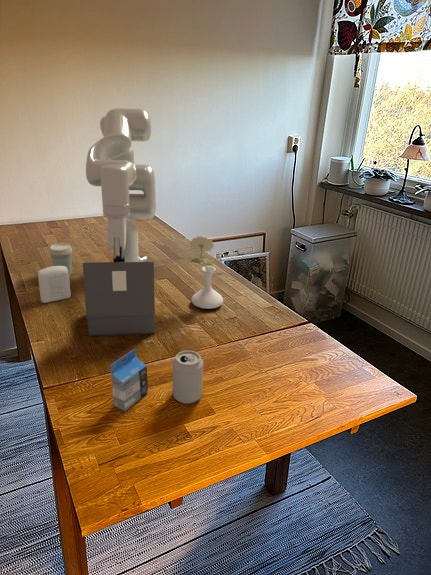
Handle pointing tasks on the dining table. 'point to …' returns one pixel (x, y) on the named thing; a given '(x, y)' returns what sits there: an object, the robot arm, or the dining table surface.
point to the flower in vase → (207, 295)
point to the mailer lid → (119, 288)
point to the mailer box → (121, 325)
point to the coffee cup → (61, 255)
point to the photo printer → (54, 283)
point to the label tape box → (128, 381)
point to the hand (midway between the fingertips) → (119, 269)
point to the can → (187, 377)
